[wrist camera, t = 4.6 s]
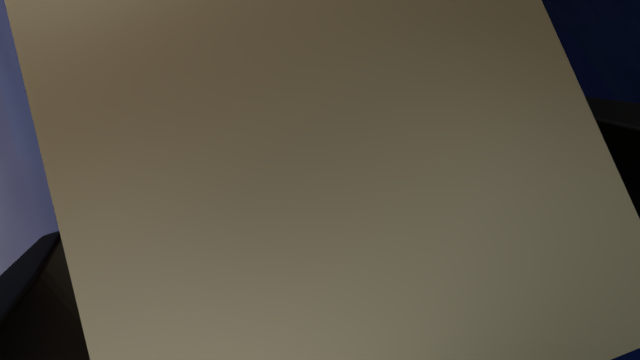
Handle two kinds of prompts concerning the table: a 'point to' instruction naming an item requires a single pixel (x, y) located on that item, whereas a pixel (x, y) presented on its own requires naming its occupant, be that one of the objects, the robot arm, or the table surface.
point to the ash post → (328, 180)
